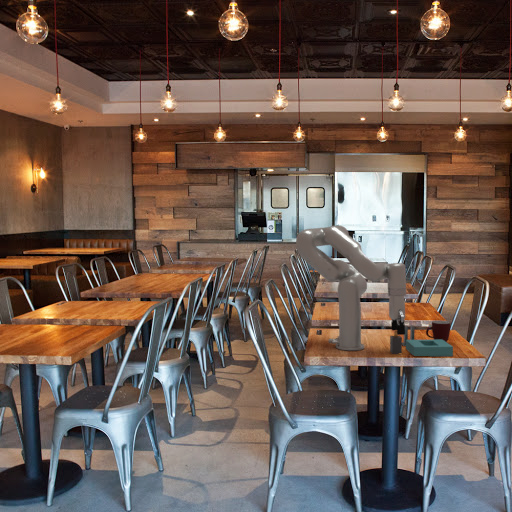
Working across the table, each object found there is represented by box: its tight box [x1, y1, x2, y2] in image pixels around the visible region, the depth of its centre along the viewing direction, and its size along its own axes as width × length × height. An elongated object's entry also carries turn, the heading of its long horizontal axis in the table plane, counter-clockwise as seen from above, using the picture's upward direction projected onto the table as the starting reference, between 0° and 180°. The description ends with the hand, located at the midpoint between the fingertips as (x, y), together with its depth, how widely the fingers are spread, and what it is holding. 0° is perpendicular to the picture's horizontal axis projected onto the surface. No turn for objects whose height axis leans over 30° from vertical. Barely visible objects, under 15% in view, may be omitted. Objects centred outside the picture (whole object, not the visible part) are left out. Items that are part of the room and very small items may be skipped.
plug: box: [389, 330, 403, 355], centre depth 247 cm, size 4×4×9 cm
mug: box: [425, 320, 452, 343], centre depth 263 cm, size 10×8×10 cm
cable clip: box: [402, 324, 415, 347], centre depth 260 cm, size 6×4×9 cm, turn 90°
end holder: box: [405, 339, 454, 357], centre depth 248 cm, size 16×14×4 cm
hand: (398, 332), depth 247 cm, fingers open, 9 cm apart
